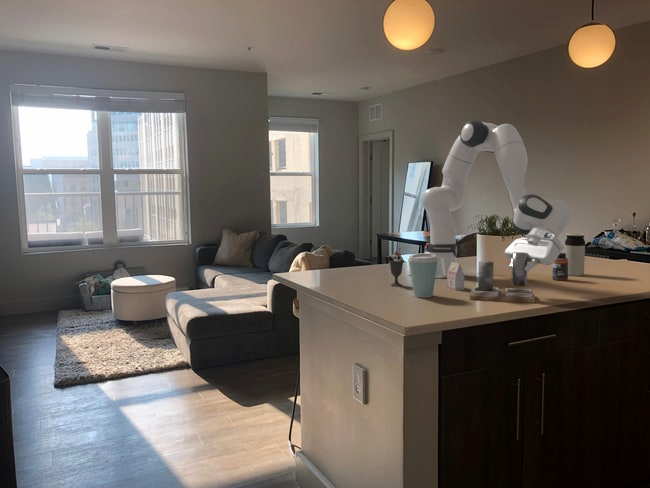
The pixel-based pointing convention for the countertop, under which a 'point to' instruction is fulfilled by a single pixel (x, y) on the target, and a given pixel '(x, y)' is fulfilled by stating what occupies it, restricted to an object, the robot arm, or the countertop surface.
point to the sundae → (396, 266)
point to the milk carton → (455, 277)
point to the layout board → (493, 294)
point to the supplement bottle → (560, 268)
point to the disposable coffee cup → (423, 273)
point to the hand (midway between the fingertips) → (518, 269)
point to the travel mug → (575, 253)
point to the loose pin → (519, 268)
